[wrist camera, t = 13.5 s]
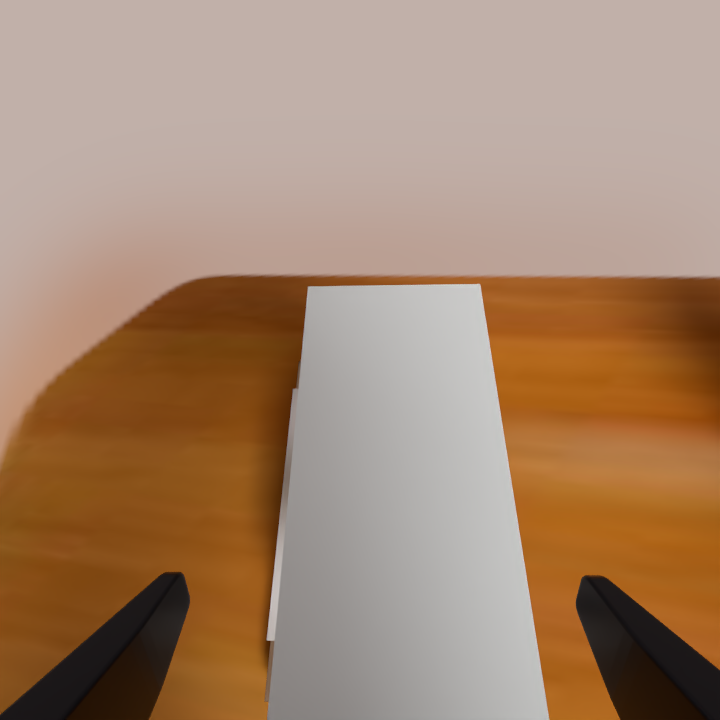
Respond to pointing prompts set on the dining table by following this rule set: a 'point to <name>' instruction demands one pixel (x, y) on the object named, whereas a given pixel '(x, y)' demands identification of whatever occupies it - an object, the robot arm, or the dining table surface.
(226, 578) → the dining table surface
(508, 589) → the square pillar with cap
